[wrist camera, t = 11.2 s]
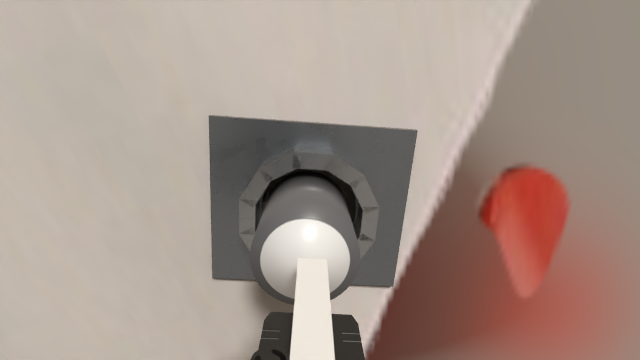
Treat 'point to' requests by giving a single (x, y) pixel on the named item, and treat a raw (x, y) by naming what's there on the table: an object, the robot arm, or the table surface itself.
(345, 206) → the lens barrel
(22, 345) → the table surface
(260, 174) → the barrel mount
